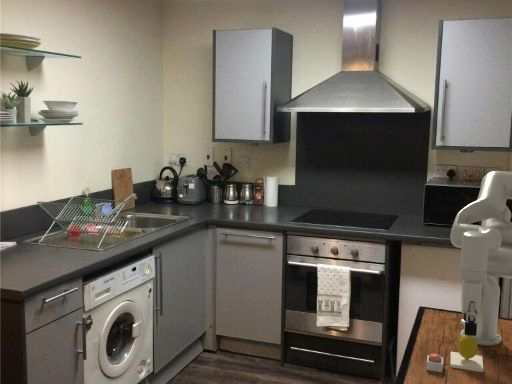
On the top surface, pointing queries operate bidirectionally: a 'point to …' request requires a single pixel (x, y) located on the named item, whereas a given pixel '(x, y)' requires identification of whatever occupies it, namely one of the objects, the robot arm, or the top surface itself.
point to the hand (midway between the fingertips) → (469, 328)
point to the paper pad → (467, 362)
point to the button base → (434, 365)
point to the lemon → (467, 346)
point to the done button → (435, 358)
